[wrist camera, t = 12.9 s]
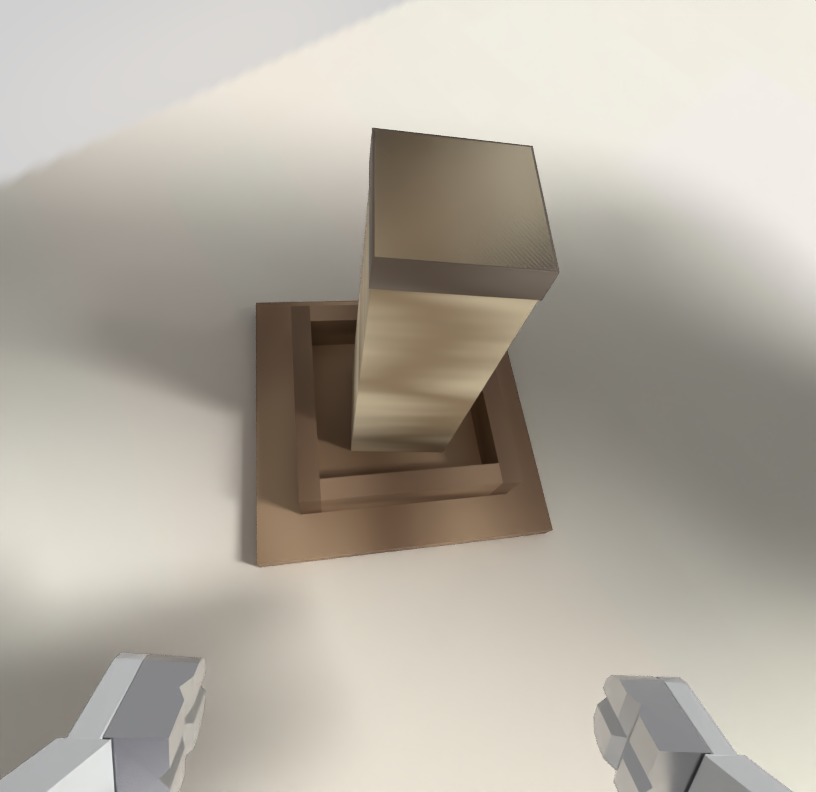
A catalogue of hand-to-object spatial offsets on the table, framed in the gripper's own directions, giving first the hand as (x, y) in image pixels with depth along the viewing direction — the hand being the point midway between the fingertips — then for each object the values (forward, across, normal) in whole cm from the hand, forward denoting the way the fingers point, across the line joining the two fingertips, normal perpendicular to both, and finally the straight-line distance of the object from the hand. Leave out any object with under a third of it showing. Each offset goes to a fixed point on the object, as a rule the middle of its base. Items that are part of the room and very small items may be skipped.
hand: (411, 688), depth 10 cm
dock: (+14, 0, 0) cm, 14 cm away
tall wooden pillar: (+13, 0, -1) cm, 13 cm away
